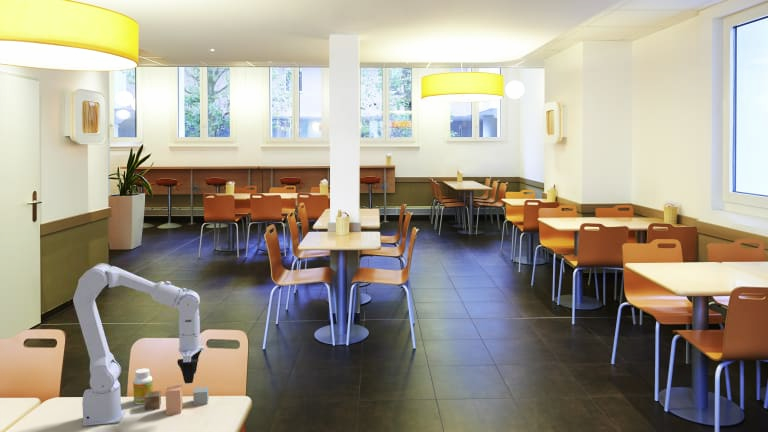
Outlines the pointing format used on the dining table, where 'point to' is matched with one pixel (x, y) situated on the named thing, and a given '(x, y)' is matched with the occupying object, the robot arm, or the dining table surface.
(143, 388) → the supplement bottle
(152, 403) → the walnut block
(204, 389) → the slate block
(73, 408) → the dining table surface
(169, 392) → the terracotta block
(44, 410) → the dining table surface
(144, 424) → the dining table surface
